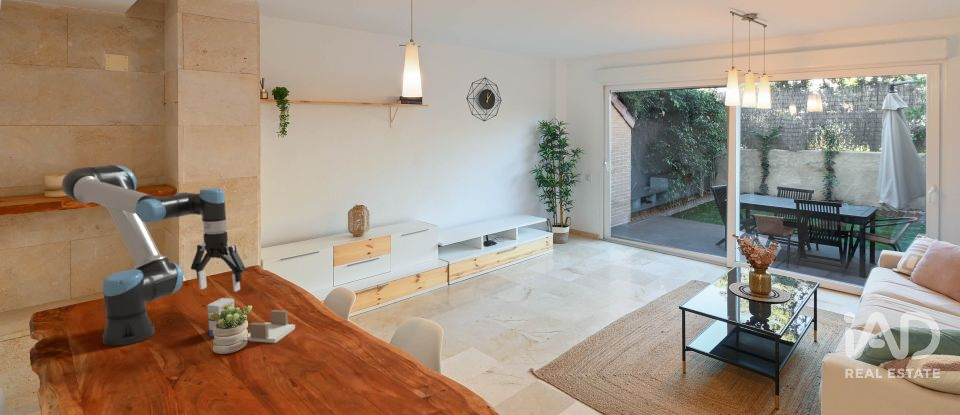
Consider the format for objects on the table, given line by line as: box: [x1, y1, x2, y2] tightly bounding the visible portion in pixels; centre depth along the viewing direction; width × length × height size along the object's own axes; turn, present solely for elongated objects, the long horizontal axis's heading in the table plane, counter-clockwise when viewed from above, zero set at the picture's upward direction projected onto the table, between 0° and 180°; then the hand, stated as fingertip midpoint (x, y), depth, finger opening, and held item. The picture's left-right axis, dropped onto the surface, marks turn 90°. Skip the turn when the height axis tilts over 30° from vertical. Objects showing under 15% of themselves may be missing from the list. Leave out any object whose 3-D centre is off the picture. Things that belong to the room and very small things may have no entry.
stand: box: [247, 309, 296, 344], centre depth 180 cm, size 12×14×6 cm
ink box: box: [206, 297, 235, 337], centre depth 181 cm, size 8×5×12 cm, turn 168°
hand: (220, 289), depth 180 cm, fingers open, 13 cm apart
